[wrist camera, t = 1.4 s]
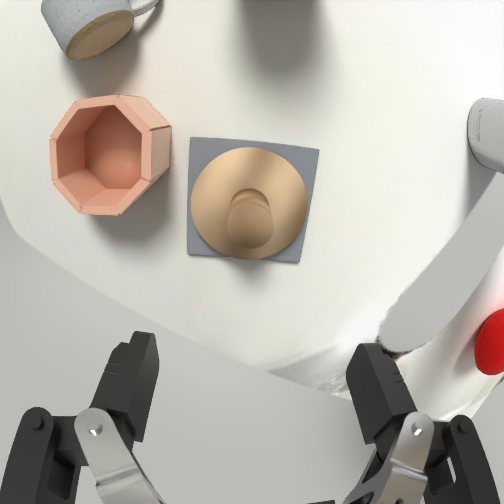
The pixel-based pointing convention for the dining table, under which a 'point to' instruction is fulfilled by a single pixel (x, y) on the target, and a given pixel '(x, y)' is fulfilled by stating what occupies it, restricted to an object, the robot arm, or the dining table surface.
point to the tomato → (491, 345)
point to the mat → (213, 147)
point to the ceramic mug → (90, 24)
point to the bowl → (108, 152)
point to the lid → (249, 203)
